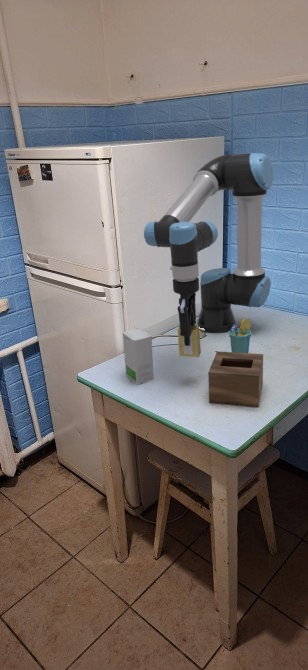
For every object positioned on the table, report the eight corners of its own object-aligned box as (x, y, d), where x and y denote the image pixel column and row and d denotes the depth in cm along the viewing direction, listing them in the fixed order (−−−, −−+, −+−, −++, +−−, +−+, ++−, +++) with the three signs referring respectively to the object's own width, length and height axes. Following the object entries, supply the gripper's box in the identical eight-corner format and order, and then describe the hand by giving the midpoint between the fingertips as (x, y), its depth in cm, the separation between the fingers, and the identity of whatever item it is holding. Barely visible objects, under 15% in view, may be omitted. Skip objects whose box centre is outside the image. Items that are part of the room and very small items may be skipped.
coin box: (217, 380, 148) (216, 351, 144) (262, 383, 144) (263, 354, 140) (209, 402, 136) (208, 372, 132) (258, 407, 132) (259, 375, 128)
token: (181, 351, 147) (180, 325, 143) (200, 352, 145) (199, 326, 141) (179, 356, 144) (177, 329, 141) (198, 357, 142) (197, 329, 139)
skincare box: (125, 375, 156) (121, 332, 150) (143, 369, 159) (139, 327, 153) (137, 385, 149) (133, 340, 143) (155, 379, 152) (152, 334, 146)
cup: (242, 372, 152) (242, 329, 146) (220, 368, 155) (219, 326, 150) (256, 355, 163) (257, 314, 157) (235, 351, 166) (235, 312, 161)
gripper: (179, 269, 143) (184, 339, 152) (165, 286, 129) (171, 362, 138) (203, 269, 141) (206, 340, 150) (192, 286, 127) (196, 364, 136)
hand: (189, 351), depth 144 cm, fingers closed on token, 3 cm apart
